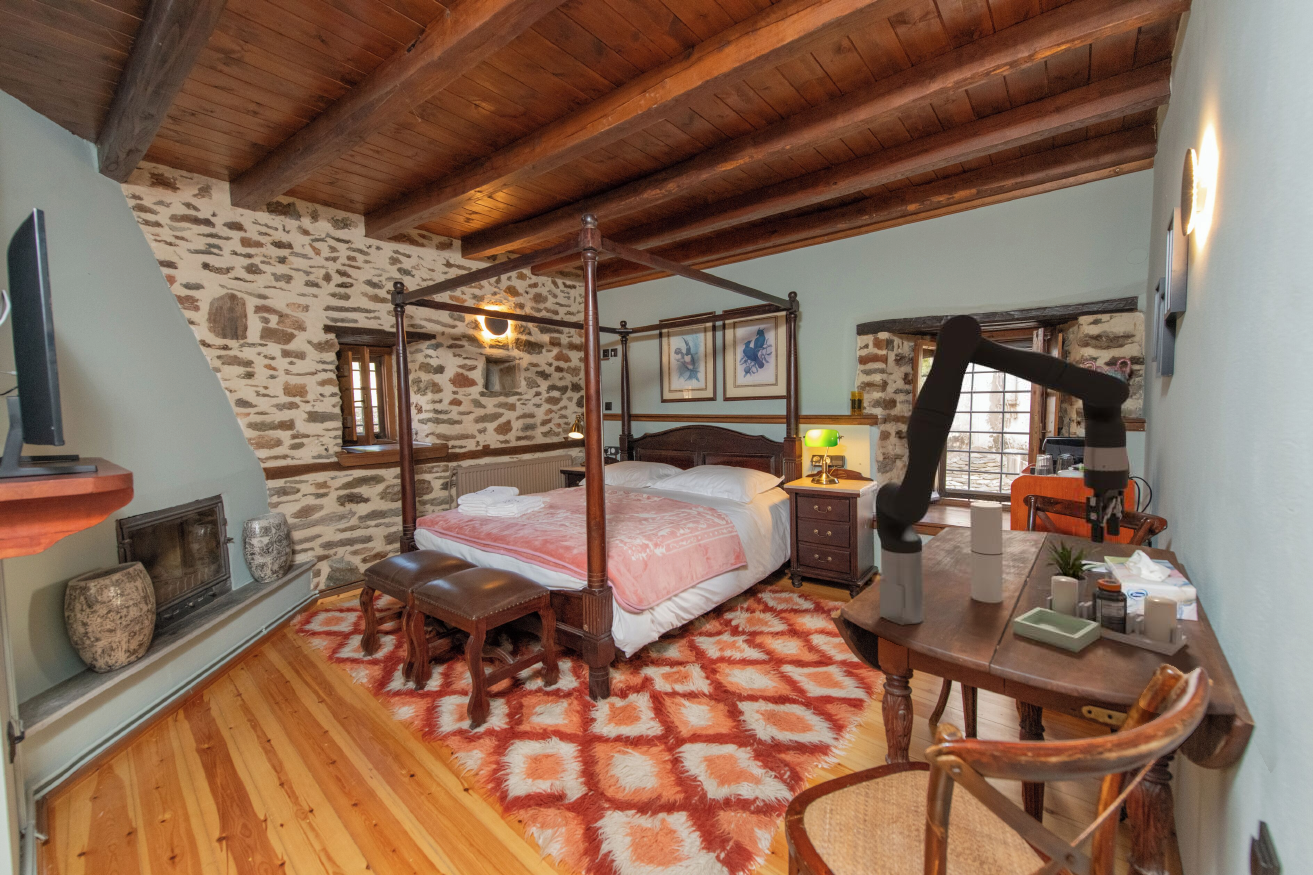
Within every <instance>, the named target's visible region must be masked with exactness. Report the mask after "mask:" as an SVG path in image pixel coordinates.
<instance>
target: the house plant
mask: <svg viewBox="0 0 1313 875" xmlns="http://www.w3.org/2000/svg"><path fill="white" fill-rule="evenodd" d="M1041 538H1043V539H1045V540H1046V541H1048V542H1049V543H1050V544H1051V546H1052V547H1051V546H1050V545H1048V544H1045V543H1043V546H1042V548H1043V549H1045V550H1047V551H1048V552H1049V553H1050V554H1051V555H1052V556H1050V557H1048V558H1047V559H1050V560H1051V562H1048V563H1047V564H1046V565H1045V569H1046V568H1048V567H1051V566H1053V568H1055V569H1056V570H1057V571H1056V572H1053V573H1052V577H1054V576H1065V577H1070V578H1074V579H1076V580H1078V604H1080V603H1082V602H1084V596H1085V592H1086V588H1087V584H1088V577H1087V576H1085V575H1083V574H1084V573H1085V572H1086V571H1088V570H1090V569H1098V567H1096V566H1097V563H1089V562H1086V563H1085V562H1084V563H1083V561H1084V560H1086V558H1088V557H1089V556H1091V554H1092V555H1093V553H1094V552H1096V551H1098V550H1101V549H1103V547H1098V548H1095V549H1092V550H1091V551H1090V552H1087V551H1084V550H1085V547H1086V544H1083V546H1082V548H1080V550H1079V553H1078V554H1077V555H1076V556H1075V557H1073V558H1072V552H1073V548H1074V547H1075V546H1076V545H1077V544H1076V543H1075V544H1074V545H1073V544H1071V546H1070V547H1069V549H1068V548H1067V546H1066V545H1065V543H1064V542H1063V540H1062V539H1061V538H1059V537H1058V539H1057V540H1058V541H1059V543H1060V548H1061V550H1058V549H1057V546H1055V544H1054V543H1053V542H1052V541H1051V540H1049V539H1048V538H1046V537H1043V536H1041ZM1075 540H1076V538H1074V540H1073V541H1075ZM1037 544H1039V545H1040V544H1041V543H1037ZM1044 546H1047V547H1049V549H1051V550H1049V549H1048V548H1047V547H1044ZM1052 551H1053V552H1054V553H1055V555H1056V556H1057V557H1058V558H1057V557H1056V556H1055V555H1054V554H1053V552H1052ZM1086 553H1087V554H1086ZM1071 559H1072V560H1071ZM1038 560H1040V561H1042V559H1038ZM1043 561H1045V562H1046V560H1045V559H1043ZM1093 565H1094V566H1093ZM1055 566H1058V568H1059V569H1060V570H1059V569H1058V568H1057V567H1055ZM1087 566H1090V567H1088V568H1086V569H1084V567H1087Z"/></svg>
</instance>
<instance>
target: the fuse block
mask: <svg viewBox="0 0 1313 875" xmlns="http://www.w3.org/2000/svg"><path fill="white" fill-rule="evenodd" d="M1050 593H1051V596H1049V597H1046V609H1047V610H1051V611H1055V612H1059V613H1063V614H1066V615H1070V616H1074V617H1078V618H1082V619H1085V620H1089V621H1092V601H1088V602H1084V601H1083V602H1082V603H1078V580H1076V579H1074V578H1070V577H1065V576H1054V577H1053V576H1051V592H1050ZM1177 616H1178V602H1177V601H1176V600H1174V599H1172V598H1169V597H1164V596H1156V595H1146V596H1144V597H1143V615H1141V616H1139V617H1138V612H1136V611H1132V612H1130V613H1127V616H1126V634H1121V633H1117V632H1114V631H1111V630H1110V629H1106V628H1102V627H1100V637H1103V638H1106V639H1110V640H1114V641H1118V642H1119V643H1124V644H1128V645H1132V646H1134V647H1139V648H1142V649H1146V650H1149V651H1153V652H1157V653H1159V654H1163V655H1164V654H1165V655H1167V656H1174V655H1175V654H1176V653H1177V652H1178V651H1179V650H1181V649H1182V648H1183V647H1184V646H1185V645H1186V644H1187V636H1186V635H1183V625H1180V624H1178V621H1177V620H1178V618H1177Z"/></svg>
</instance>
